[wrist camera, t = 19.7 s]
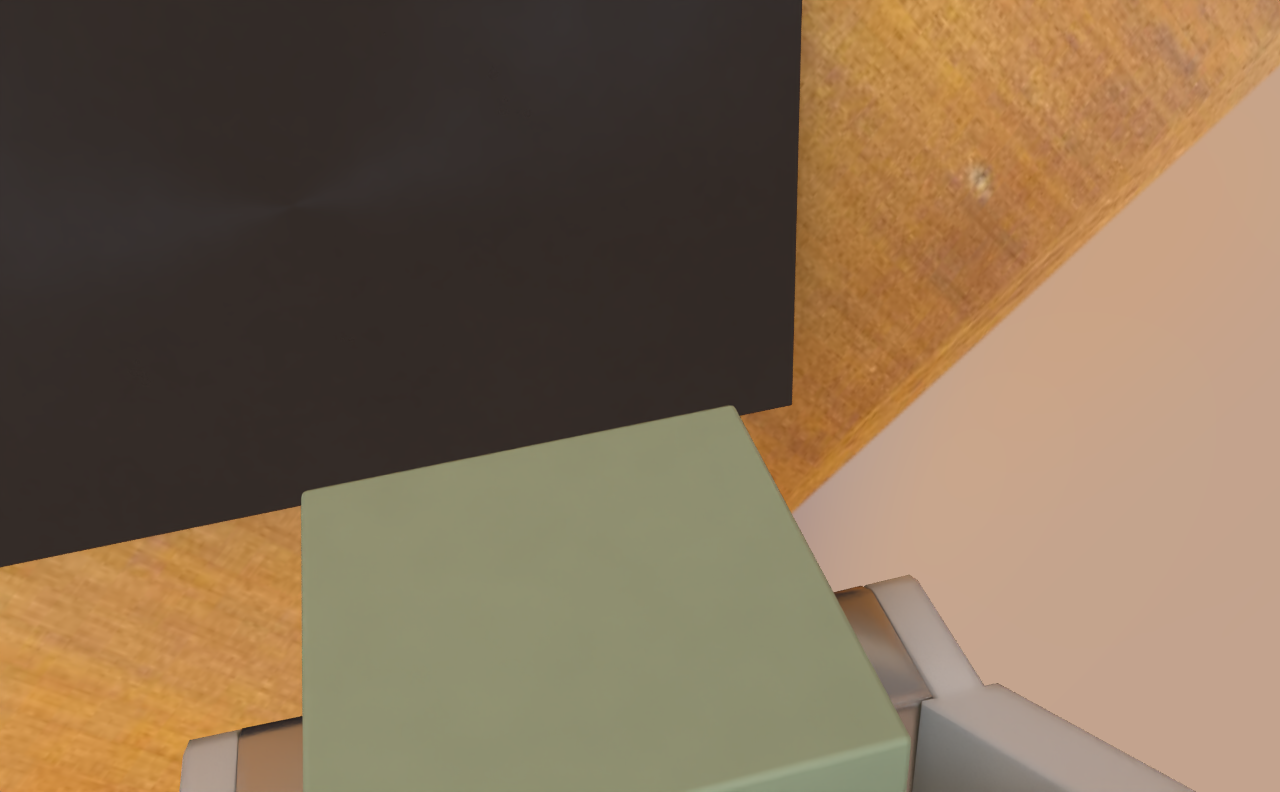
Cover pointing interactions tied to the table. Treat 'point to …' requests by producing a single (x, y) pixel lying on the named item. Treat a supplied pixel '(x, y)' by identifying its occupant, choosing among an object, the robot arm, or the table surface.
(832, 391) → the table surface
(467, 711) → the block
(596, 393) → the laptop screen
